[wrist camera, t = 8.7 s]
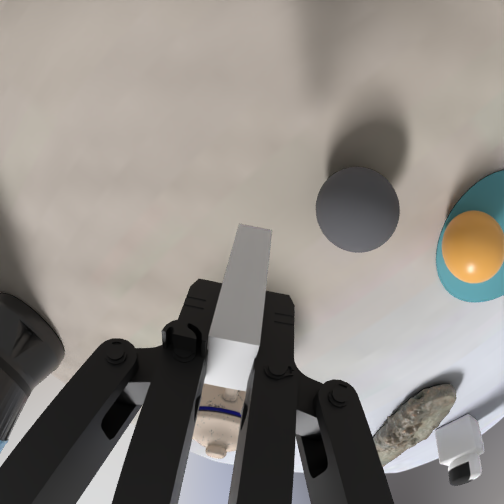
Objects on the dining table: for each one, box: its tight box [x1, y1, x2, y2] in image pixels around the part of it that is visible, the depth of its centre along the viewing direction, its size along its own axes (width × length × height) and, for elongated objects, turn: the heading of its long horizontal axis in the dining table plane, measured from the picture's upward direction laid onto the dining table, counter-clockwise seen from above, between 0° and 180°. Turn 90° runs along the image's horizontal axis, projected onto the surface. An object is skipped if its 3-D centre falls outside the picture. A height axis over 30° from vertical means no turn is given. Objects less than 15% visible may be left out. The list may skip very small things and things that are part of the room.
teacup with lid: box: [192, 383, 246, 459], centre depth 29 cm, size 12×9×12 cm
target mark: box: [436, 170, 504, 302], centre depth 22 cm, size 14×14×1 cm
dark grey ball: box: [316, 167, 400, 252], centre depth 20 cm, size 6×6×6 cm
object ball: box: [442, 210, 504, 283], centre depth 20 cm, size 6×6×6 cm
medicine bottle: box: [435, 414, 484, 486], centre depth 37 cm, size 7×7×12 cm
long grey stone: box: [373, 384, 456, 467], centre depth 42 cm, size 35×5×10 cm
